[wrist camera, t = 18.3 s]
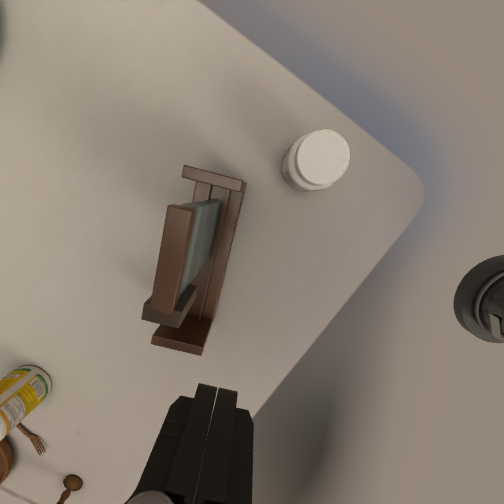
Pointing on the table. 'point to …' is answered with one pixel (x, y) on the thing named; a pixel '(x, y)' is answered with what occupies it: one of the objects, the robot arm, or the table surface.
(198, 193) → the window frame
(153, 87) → the table surface
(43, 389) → the supplement bottle
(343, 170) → the pill bottle
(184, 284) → the window pane
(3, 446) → the place setting
